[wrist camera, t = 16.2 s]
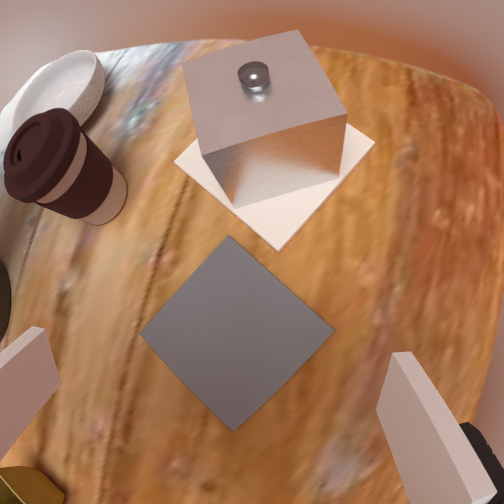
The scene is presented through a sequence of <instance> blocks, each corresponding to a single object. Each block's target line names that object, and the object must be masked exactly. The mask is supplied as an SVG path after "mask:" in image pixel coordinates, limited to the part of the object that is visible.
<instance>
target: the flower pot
mask: <svg viewBox="0 0 504 504" xmlns="http://www.w3.org/2000/svg"><path fill="white" fill-rule="evenodd" d="M64 498H65V495H64V493H63V492H62V491H61V490H60V489H59V488H58V487H57V486H56V485H55V484H53V483H52V482H51V481H50V480H49V479H48V478H47V477H46V476H45V475H44V474H43V473H42V472H40V471H38V470H36V469H33V468H29V467H23V466H15V467H5V468H0V504H62V503H63V500H64Z"/></svg>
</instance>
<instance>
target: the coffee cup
mask: <svg viewBox="0 0 504 504" xmlns="http://www.w3.org/2000/svg"><path fill="white" fill-rule="evenodd" d="M4 171H5V174H4V182H5V187H6V190H7V192H8V193H9V195H10V196H12V197H13V198H15V199H17V200H19V201H21V202H25V203H31V202H35V203H36V204H38V205H40V206H42V207H45V208H47V209H50V210H52V211H55V212H57V213H60V214H62V215H65V216H67V217H70V218H73V219H79V220H82V221H84V222H87V223H89V224H92V225H102V224H105V223H107V222H109V221H110V220H112V219H113V218H114V217H115V216H116V215H117V214H118V213H119V212H120V210H121V208H122V207H123V204H124V202H125V199H126V194H127V187H126V183H125V180H124V178H123V177H122V175H121V174H120V173H119V172H118V171H117V170H116V169H115V168H114V167H113V166H112V164H111V162H110V160H109V159H108V158H107V157H106V156H105V155H104V154H103V153H102V151H101V150H100V149H99V148H98V147H97V146H96V145H95V144H94V143H93V142H92V141H91V139H90V138H89V137H88V136H87V135H86V134H85V133H84V132H83V131H81V130H80V125H79V122H78V120H77V119H76V118H75V117H74V116H73V115H72V114H71V113H70V112H69V111H68V110H66V109H64V108H54V109H50V110H48V111H45V112H44V113H38V114H36V115H34V116H32V117H30V118H29V119H27V120H26V121H25V122H24V123H23V124H22V125H21V126H20V127H19V128H18V130H17V131H16V132H15V134H14V135H13V137H12V138H11V140H10V142H9V144H8V147H7V149H6V152H5V156H4Z"/></svg>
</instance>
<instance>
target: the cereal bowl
mask: <svg viewBox="0 0 504 504" xmlns="http://www.w3.org/2000/svg"><path fill="white" fill-rule="evenodd" d="M104 84H105V75H104V70H103V67H102V64H101V63H100V61H99V59H98V58H97V56H96V55H95V54H94V53H93V52H92V51H89V50H78V51H74V52H72V53H69V54H67V55H65V56H63V57H61V58H59V59H57V60H56V61H55V62H53V63H52V64H50V65H49V66H48V67H47V68H45V69H44V70H43V71H42V72H41V73H40V74H39V75H38V76H37V77H36V78H35V79H34V81H33V82H32V83H31V84H30V85H29V87H28V88H27V89H26V91H25V92H24V94H23V96H22V97H21V99H20V101H19V103H18V105H17V108H16V110H15V113H14V118H13V130H14V132H16V131H17V130H18V128H19V127H20V126H21V125H22V124H23V123H24V122H25V121H26V120H27V119H29V118H30V117H32V116H34V115H36V114H38V113H44V112H45V111H48V110H50V109H54V108H64V109H66V110H68V111H69V112H70V113H71V114H72V115H73V116H74V117H75V118H76V119H77V120H78V122H79V125H80V126H81V125H82V124H83V123H84V122H85V121H86V120H87V119H88V118H89V116H90V115H91V114H92V112H93V111H94V110H95V108H96V106H97V105H98V103H99V101H100V98H101V96H102V93H103V89H104Z"/></svg>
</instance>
